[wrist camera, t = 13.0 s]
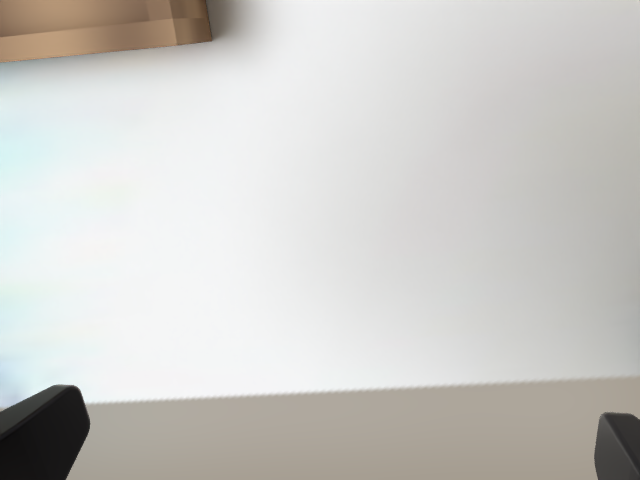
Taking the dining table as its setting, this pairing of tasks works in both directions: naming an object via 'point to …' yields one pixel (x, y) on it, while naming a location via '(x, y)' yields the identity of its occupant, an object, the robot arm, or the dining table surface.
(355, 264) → the dining table surface
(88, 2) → the walnut tray
